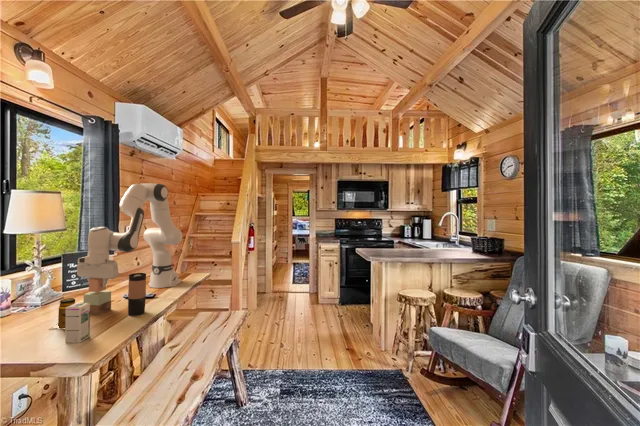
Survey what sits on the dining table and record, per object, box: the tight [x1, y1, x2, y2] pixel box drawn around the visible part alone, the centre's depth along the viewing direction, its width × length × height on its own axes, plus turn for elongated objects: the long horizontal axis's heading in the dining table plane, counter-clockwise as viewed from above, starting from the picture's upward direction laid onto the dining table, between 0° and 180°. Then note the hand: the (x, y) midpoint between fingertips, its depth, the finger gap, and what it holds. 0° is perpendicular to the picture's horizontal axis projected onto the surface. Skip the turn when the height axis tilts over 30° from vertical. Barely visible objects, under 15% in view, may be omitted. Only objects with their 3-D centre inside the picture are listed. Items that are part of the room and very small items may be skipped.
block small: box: [88, 278, 107, 292], centre depth 153 cm, size 5×5×6 cm
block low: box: [90, 300, 112, 316], centre depth 154 cm, size 8×8×5 cm
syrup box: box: [64, 301, 91, 344], centre depth 123 cm, size 6×6×14 cm
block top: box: [83, 289, 112, 305], centre depth 154 cm, size 8×8×5 cm
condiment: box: [49, 297, 76, 330], centre depth 135 cm, size 7×8×12 cm
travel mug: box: [127, 272, 147, 317], centre depth 153 cm, size 8×8×20 cm
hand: (97, 286), depth 153 cm, fingers closed on block small, 5 cm apart
